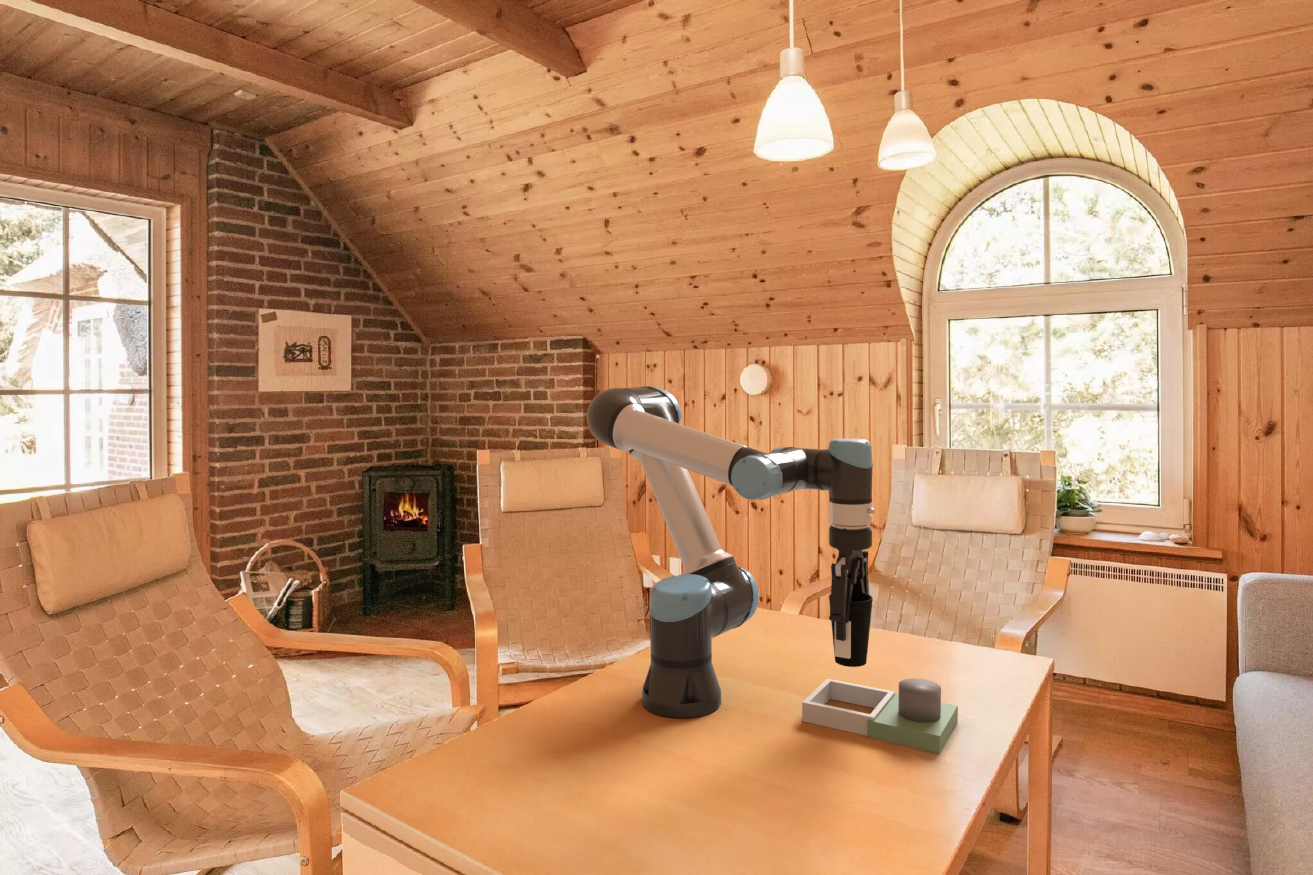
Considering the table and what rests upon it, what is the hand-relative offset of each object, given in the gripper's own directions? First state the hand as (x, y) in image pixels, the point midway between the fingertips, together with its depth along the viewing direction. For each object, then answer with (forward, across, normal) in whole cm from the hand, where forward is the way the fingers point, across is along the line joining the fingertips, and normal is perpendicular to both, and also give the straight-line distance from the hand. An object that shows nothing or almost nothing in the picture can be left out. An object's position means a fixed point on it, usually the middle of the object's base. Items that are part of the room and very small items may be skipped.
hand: (850, 649), depth 146 cm
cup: (+2, 0, 0) cm, 2 cm away
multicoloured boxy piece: (+12, 0, -5) cm, 13 cm away
